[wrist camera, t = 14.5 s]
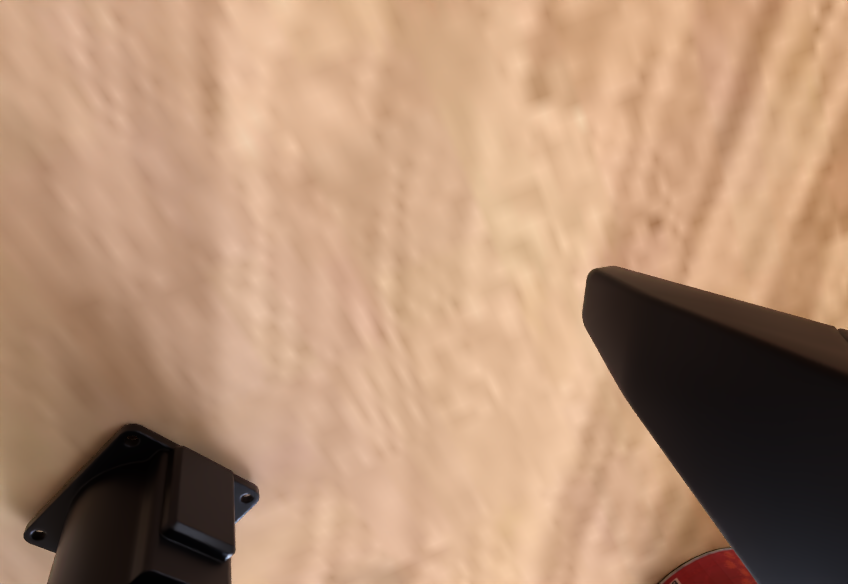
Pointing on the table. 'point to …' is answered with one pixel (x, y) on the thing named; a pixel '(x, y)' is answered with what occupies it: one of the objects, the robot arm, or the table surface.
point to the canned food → (712, 570)
